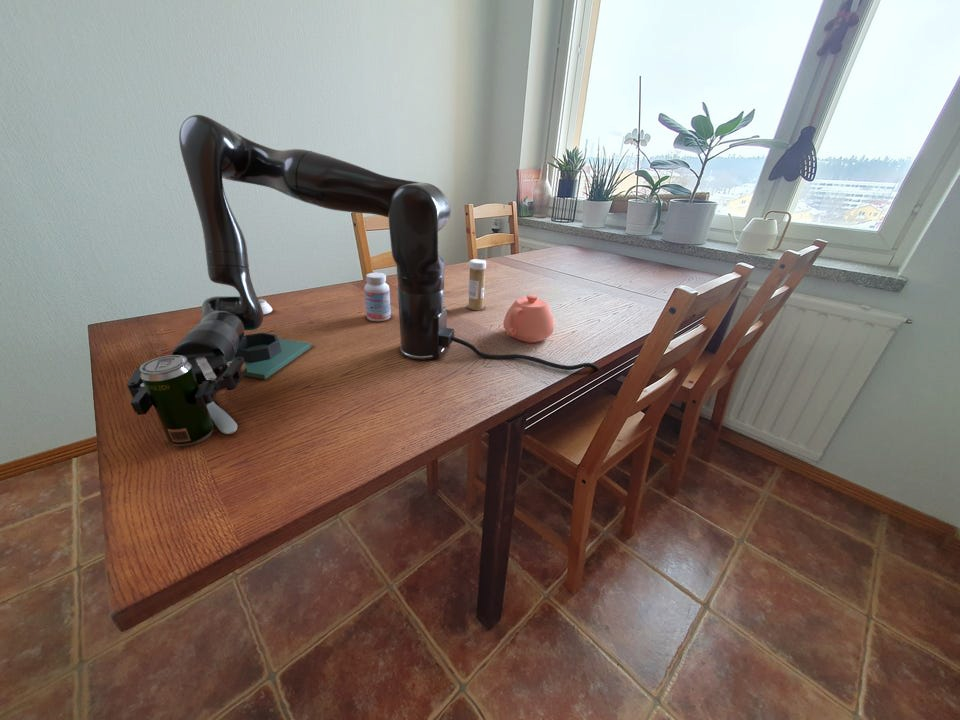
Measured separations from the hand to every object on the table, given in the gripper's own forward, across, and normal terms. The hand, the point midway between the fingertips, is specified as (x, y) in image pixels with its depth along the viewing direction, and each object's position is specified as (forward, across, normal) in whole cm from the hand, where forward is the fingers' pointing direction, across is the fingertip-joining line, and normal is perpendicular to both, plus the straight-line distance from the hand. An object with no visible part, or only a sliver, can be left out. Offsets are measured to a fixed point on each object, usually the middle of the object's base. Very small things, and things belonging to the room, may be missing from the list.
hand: (170, 405), depth 49 cm
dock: (-26, +5, +7) cm, 28 cm away
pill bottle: (-43, +29, +7) cm, 53 cm away
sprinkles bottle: (-46, +56, +7) cm, 73 cm away
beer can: (-2, 0, +7) cm, 8 cm away
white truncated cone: (-52, +1, +7) cm, 52 cm away
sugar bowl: (-25, +63, +7) cm, 68 cm away
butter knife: (-13, -2, +7) cm, 15 cm away
